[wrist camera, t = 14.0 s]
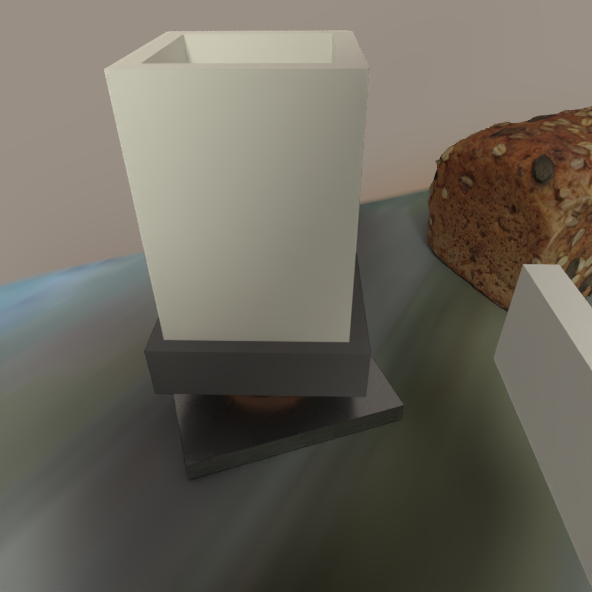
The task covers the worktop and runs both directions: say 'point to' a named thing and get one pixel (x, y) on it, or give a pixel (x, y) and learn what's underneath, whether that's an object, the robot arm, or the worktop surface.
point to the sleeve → (246, 179)
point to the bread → (516, 203)
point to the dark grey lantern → (274, 423)
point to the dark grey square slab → (264, 363)
